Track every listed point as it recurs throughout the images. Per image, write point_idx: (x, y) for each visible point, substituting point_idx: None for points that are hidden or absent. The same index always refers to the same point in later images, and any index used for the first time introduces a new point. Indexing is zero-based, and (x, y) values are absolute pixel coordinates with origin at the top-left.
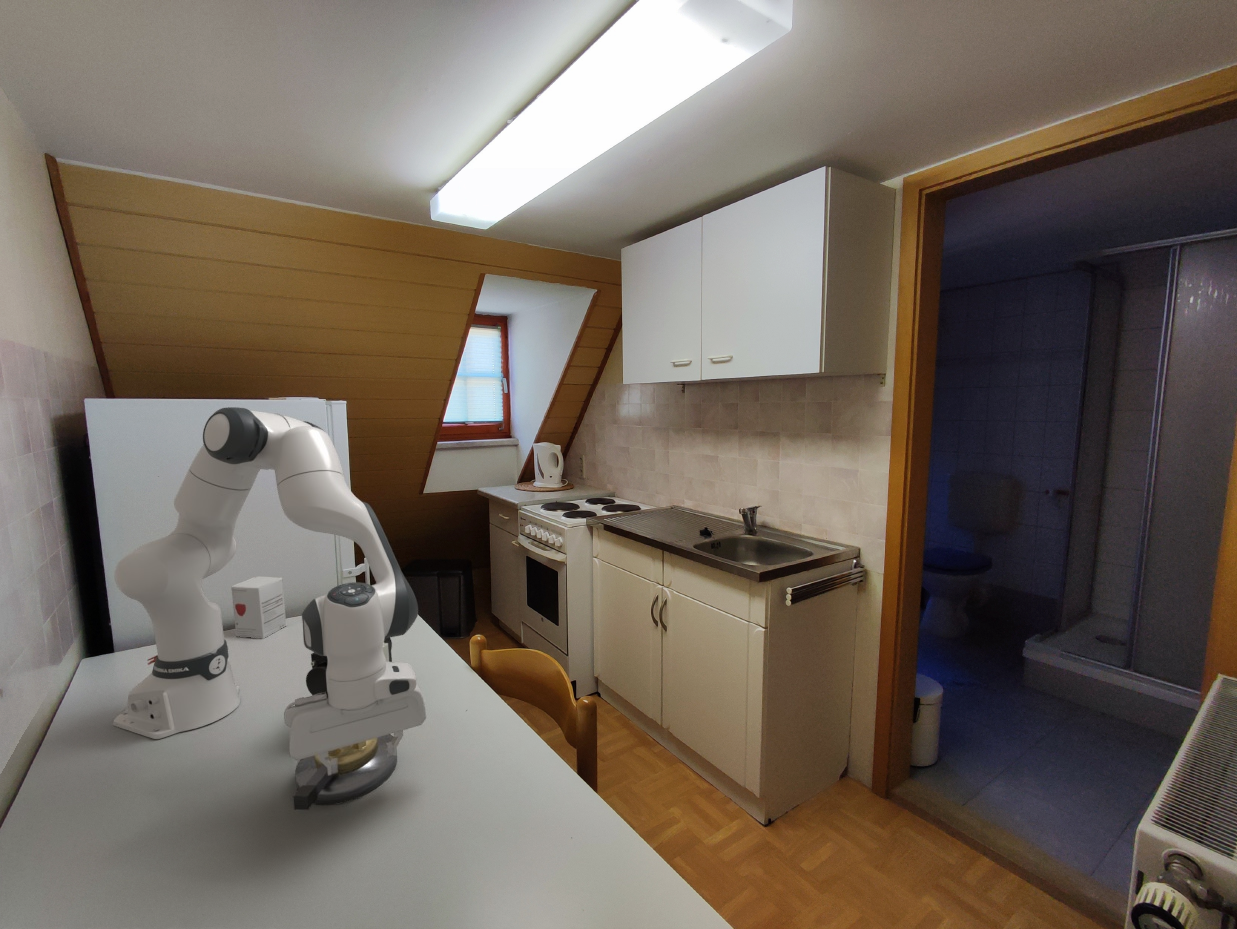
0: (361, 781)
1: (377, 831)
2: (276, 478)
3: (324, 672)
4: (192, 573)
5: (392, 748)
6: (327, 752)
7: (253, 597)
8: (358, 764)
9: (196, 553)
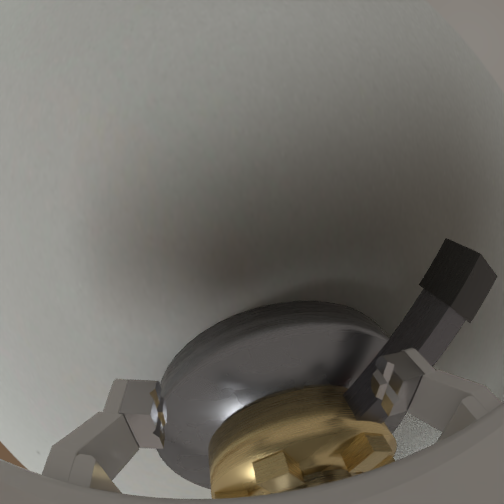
0: (270, 335)
1: (229, 106)
2: None
3: None
4: None
5: (125, 408)
6: (474, 414)
7: None
8: (276, 403)
9: None
